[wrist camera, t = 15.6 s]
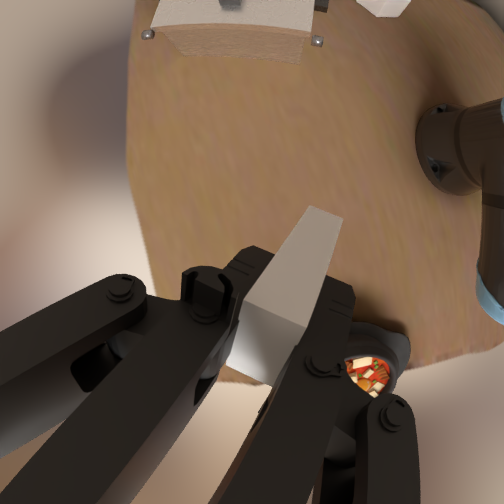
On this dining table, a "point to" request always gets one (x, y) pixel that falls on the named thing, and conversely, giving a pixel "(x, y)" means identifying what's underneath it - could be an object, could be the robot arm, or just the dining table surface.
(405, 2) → the jar
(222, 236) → the dining table surface
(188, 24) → the lid
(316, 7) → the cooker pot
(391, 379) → the casserole
